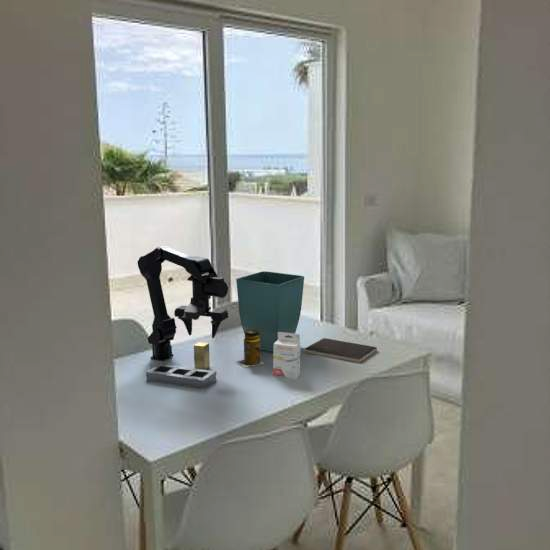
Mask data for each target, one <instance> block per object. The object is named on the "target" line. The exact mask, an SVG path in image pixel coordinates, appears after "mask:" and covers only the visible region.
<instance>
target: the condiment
mask: <svg viewBox="0 0 550 550" xmlns="http://www.w3.org/2000/svg"><path fill="white" fill-rule="evenodd" d="M243 358H244V359H243V360H237V361H235V363H236V364H238V365H240V366H241V367H243V368H249V367H254V366H255V367H256V366H260V365H264V364H265V362H264V361H262V360H261V349H260V338H259V331H257V330H247V331H245V334H244V339H243Z"/></svg>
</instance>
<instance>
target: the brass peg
mask: <svg viewBox="0 0 550 550" xmlns="http://www.w3.org/2000/svg"><path fill="white" fill-rule="evenodd" d="M193 357H194V360H193V361H194V365H193V366H194V368H196V369H203V370H208V369H209V368H210V366H211V365H210V364H211V363H210V359H211V358H210V343H209V342H204V341H199V342H197V343H195V344H194V345H193Z"/></svg>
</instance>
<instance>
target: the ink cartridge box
mask: <svg viewBox="0 0 550 550" xmlns="http://www.w3.org/2000/svg"><path fill="white" fill-rule="evenodd" d="M288 335H289V336H292V337H293V338H287V337H285V336H288ZM300 338H301V337H300V333H295V334H294V333H285V332H278V340H277V341H276V342H275V343H274V344H273V352H272V353H273V354H272V357H273V360H272V363H273V365H272V367H273V368H272V369H273V371H272V373H273V374H272V375H273V376H274V377H275V376H276V377H281V378H290V379H297V378H298V376H300V374H301V339H300Z"/></svg>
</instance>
